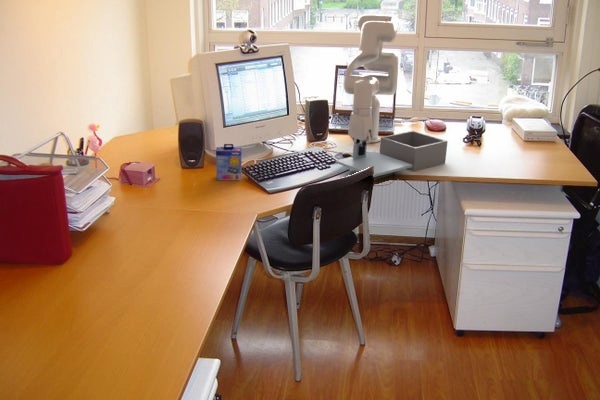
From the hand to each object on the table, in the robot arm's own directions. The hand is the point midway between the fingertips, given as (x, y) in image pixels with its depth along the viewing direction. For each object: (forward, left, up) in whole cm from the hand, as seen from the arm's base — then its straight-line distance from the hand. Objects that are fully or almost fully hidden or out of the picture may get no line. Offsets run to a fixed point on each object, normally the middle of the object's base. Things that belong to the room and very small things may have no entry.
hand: (359, 154), depth 276 cm
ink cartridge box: (-19, -52, -6) cm, 56 cm away
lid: (+8, 0, -4) cm, 9 cm away
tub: (+7, +25, -6) cm, 27 cm away
